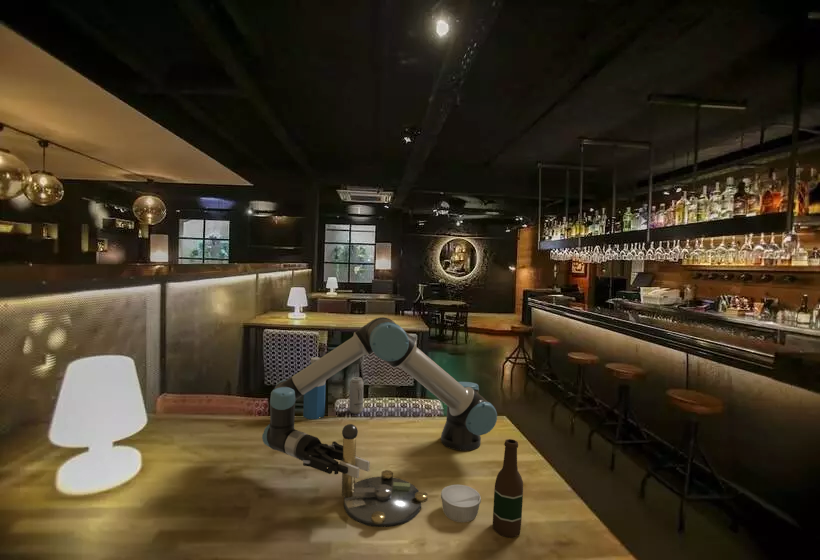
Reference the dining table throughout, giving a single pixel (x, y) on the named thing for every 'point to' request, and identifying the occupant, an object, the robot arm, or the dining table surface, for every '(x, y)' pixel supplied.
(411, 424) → the dining table surface
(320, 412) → the water bottle
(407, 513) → the plate
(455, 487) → the ramekin
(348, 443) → the ball topped crank handle
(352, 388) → the energy drink can
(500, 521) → the beer bottle
